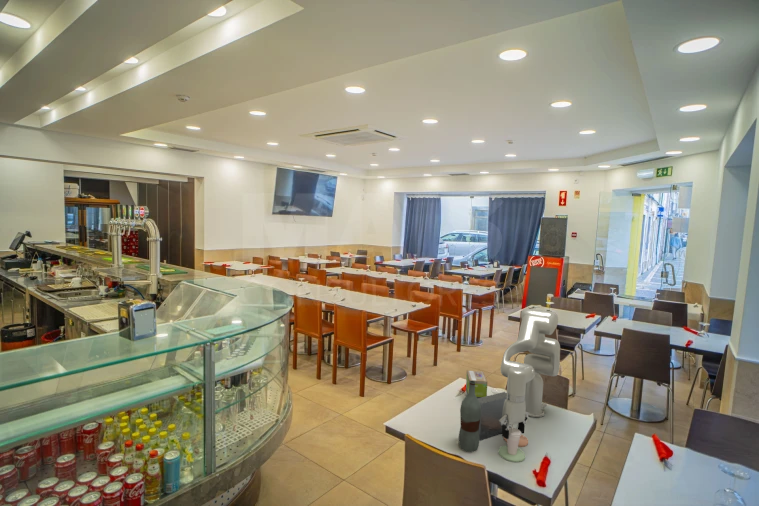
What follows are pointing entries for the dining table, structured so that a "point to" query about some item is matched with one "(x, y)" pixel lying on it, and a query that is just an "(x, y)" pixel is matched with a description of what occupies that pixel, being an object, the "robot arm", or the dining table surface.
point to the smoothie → (513, 440)
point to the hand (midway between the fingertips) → (513, 434)
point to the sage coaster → (513, 458)
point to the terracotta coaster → (520, 441)
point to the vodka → (470, 421)
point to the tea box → (477, 383)
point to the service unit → (491, 415)
